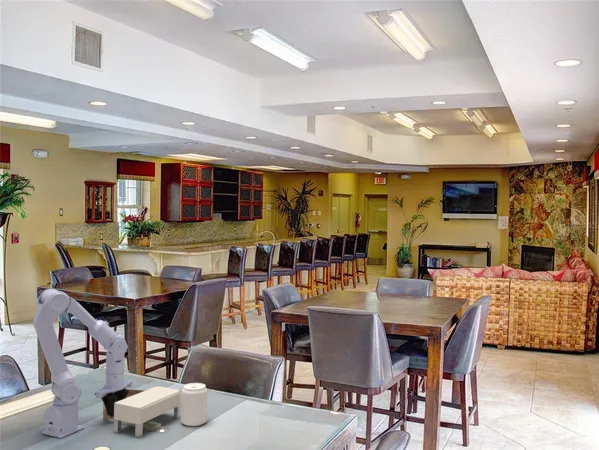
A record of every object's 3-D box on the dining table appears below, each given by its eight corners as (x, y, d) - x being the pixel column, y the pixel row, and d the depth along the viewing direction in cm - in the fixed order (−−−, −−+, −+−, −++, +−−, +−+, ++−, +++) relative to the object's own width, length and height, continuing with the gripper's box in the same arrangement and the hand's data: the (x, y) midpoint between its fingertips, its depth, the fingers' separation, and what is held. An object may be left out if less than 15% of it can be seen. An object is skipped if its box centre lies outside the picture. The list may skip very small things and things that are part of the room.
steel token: (162, 435, 170) (163, 432, 170) (152, 432, 172) (152, 429, 172) (172, 430, 174) (172, 428, 174) (161, 427, 176) (161, 425, 176)
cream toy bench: (140, 438, 167) (140, 408, 167) (113, 431, 171) (114, 402, 171) (181, 417, 185) (181, 390, 185) (156, 412, 189) (157, 386, 189)
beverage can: (182, 428, 175) (182, 390, 175) (180, 419, 183) (181, 383, 183) (207, 426, 177) (208, 388, 177) (205, 417, 185) (205, 381, 185)
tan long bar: (152, 431, 172) (152, 408, 172) (101, 419, 181) (102, 398, 181) (160, 427, 176) (161, 405, 176) (110, 416, 185) (111, 395, 185)
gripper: (121, 365, 190) (120, 405, 190) (88, 376, 177) (88, 418, 177) (137, 368, 187) (136, 408, 187) (105, 379, 174) (104, 422, 174)
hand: (114, 413), depth 182 cm, fingers closed on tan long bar, 3 cm apart
